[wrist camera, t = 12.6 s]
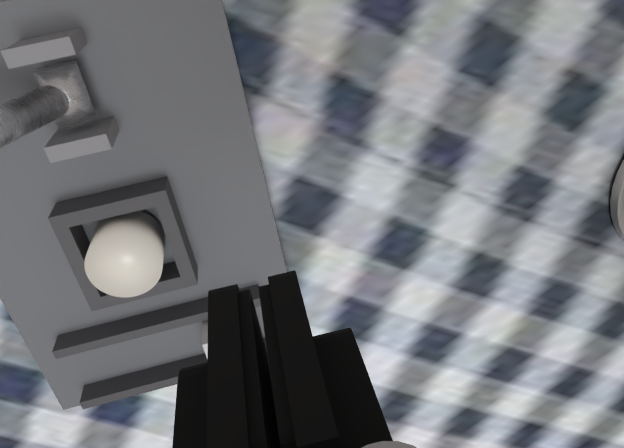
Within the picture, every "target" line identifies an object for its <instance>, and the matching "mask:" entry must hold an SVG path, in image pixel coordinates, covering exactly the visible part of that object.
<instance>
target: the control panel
mask: <svg viewBox="0 0 624 448" xmlns="http://www.w3.org/2000/svg"><path fill="white" fill-rule="evenodd" d="M70 60H75V61H76V62H77V65H78V67H79V70H80V73H81V75H82V78H83V81H84V83H85V86H86V88H87V91H88V94H89V96H90V99H91V102H92V104H93V107H94V109H95V112H96V115H97V118H96V119H95V120H93V121H92V122H90V123H87V124H85V125H82V126H79V127H75V128H70V129H62V130H61V129H57V128H56V125H55V123H54V121H53V122H51V123H49V124H47V125H45V126H43V127H41V128H39V129H37V130H35V131H33V132H31V133H29V134H27V135H26V136H24V137H22V138H20V139H18V140H16V141H14V142H12V143H10V144H8V145H6V146H4V147H2V148H0V298H1V300H2V302H3V304H4V306H5V307H6V309H7V311H8V313H9V314H10V316H11V318H12V320H13V321H14V323H15V325H16V327H17V328H18V330H19V332H20V334H21V336H22V337H23V339H24V341H25V343H26V344H27V346H28V348H29V350H30V351H31V353H32V355H33V357H34V358H35V360H36V362H37V364H38V366H39V367H40V369H41V371H42V373H43V374H44V376H45V378H46V380H47V381H48V383H49V385H50V387H51V388H52V390H53V392H54V394H55V396H56V397H57V399H58V401H59V403H60V404H61V406H62V408H63V410H64V409H68V408H72V407H75V406H79V405H81V406H82V408H83V409H86V408H89V407H93V406H97V405H101V404H104V403H108V402H112V401H116V400H119V399H123V398H127V397H131V396H134V395H138V394H142V393H145V392H149V391H153V390H157V389H160V388H164V387H168V386H172V385H175V384H178V375H179V371H180V369H182V368H186V367H190V366H194V365H198V364H202V363H207V357H206V354H205V352H204V349H203V346H202V321H205V320H208V291H209V290H213V289H217V288H222V287H226V286H230V285H235V284H237V285H238V287H239V290H240V291H242V290H246V289H250V291H251V294H252V298H253V302H254V305H255V309H256V313H257V316H258V320H259V324H260V328H261V331H262V335H263V339H264V342H265V346H266V339H265V332H264V325H263V318H262V311H261V304H260V296H259V289H258V287H259V286H264V285H268V284H269V282H268V277H269V276H273V275H277V274H282V273H286V272H287V269H286V265H285V261H284V257H283V253H282V249H281V244H280V240H279V236H278V232H277V228H276V224H275V219H274V215H273V211H272V207H271V203H270V199H269V195H268V190H267V186H266V182H265V178H264V174H263V170H262V165H261V161H260V157H259V153H258V149H257V145H256V140H255V136H254V132H253V128H252V124H251V120H250V115H249V111H248V107H247V103H246V99H245V95H244V90H243V86H242V82H241V78H240V74H239V70H238V65H237V61H236V57H235V53H234V49H233V45H232V40H231V36H230V32H229V28H228V24H227V20H226V15H225V11H224V7H223V3H222V0H2V1H0V104H1V103H3V102H6V101H8V100H10V99H13V98H15V97H17V96H20V95H22V94H24V93H27V92H29V91H31V90H34V89H36V88H38V87H39V85H38V83H37V81H36V78H35V76H34V74H33V71H34V70H36V69H38V68H41V67H44V66H47V65H50V64H54V63H59V62H63V61H70ZM135 211H142V212H144V213H147V214H149V215H150V216H152V217H153V218H154V219H155V220H157V221H158V223H159V224H160V225H161V227H162V229H163V231H164V234H165V251H164V260H163V269H162V274H161V277H160V279H159V281H158V282H157V284H156V285H155V286H154V287H153V288H152V289H150V290H149V291H147V292H146V293H144V294H141V295H138V296H135V297H127V298H125V297H115V296H111V295H108V294H106V293H104V292H102V291H100V290H99V289H97V288H96V287H95V286H94V285H93V284H92V283H91V282H90V280H89V279H88V277H87V275H86V272H85V267H84V262H85V257H86V254H87V251H88V248H89V245H90V243H91V240H92V237H93V234H94V232H95V229H96V227H97V225H98V223H99V222H100V221H101V220H102V219H106V218H110V217H115V216H119V215H123V214H127V213H131V212H135ZM266 350H267V347H266Z"/></svg>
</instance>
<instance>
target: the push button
mask: <svg viewBox="0 0 624 448" xmlns="http://www.w3.org/2000/svg"><path fill="white" fill-rule="evenodd" d="M164 251H165V234H164V231H163V229H162V227H161V225H160V224H159V223H158V221H157V220H155V219H154V218H153V217H152V216H150V215H149V214H147V213H144V212H142V211H135V212H131V213H127V214H123V215H119V216H115V217H110V218H106V219H102V220H101V221H100V222H99V223H98V225H97V227H96V229H95V232H94V234H93V237H92V240H91V243H90V245H89V248H88V251H87V254H86V257H85V262H84V267H85V272H86V275H87V277H88V279H89V280H90V282H91V283H92V284H93V285H94V286H95V287H96V288H97V289H99V290H100V291H102V292H104V293H106V294H108V295H111V296H115V297H125V298H127V297H135V296H138V295H141V294H144V293H146V292H147V291H149V290H150V289H152V288H153V287H154V286H155V285H156V284H157V282H158V281H159V279H160V277H161V274H162V269H163V260H164Z"/></svg>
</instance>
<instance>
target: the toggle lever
mask: <svg viewBox="0 0 624 448" xmlns="http://www.w3.org/2000/svg"><path fill="white" fill-rule="evenodd" d="M33 74H34V76H35V78H36V81H37V83H38V85H39V87H38V88H36V89H34V90H31V91H29V92H27V93H24V94H22V95H20V96H17V97H15V98H13V99H10V100H8V101H6V102H3V103H1V104H0V148H2V147H4V146H6V145H8V144H10V143H12V142H14V141H16V140H18V139H20V138H22V137H24V136H26V135H27V134H29V133H31V132H33V131H35V130H37V129H39V128H41V127H43V126H45V125H47V124H49V123H51V122H53V121H54V123H55V125H56V128H57V129H61V130H62V129H70V128H75V127H79V126H82V125H85V124H87V123H90V122H92V121H93V120H95V119H96V118H97V115H96V112H95V109H94V107H93V104H92V102H91V99H90V96H89V94H88V91H87V88H86V86H85V83H84V81H83V78H82V75H81V73H80V70H79V67H78V65H77V62H76V61H75V60H70V61H63V62H59V63H54V64H50V65H47V66H44V67H41V68H38V69H36V70H34V71H33Z"/></svg>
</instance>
